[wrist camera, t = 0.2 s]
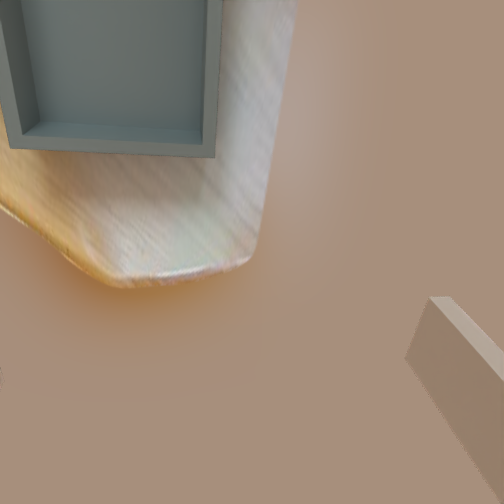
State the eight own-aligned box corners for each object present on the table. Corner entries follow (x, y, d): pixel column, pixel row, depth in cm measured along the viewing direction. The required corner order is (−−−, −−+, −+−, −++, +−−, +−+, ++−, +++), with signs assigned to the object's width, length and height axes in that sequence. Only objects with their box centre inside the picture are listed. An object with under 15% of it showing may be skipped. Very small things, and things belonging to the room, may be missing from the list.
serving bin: (-27, -210, 24) (-76, -265, 19) (223, -160, 27) (233, -196, 22) (32, 129, 34) (9, 148, 29) (209, 139, 37) (214, 158, 32)
